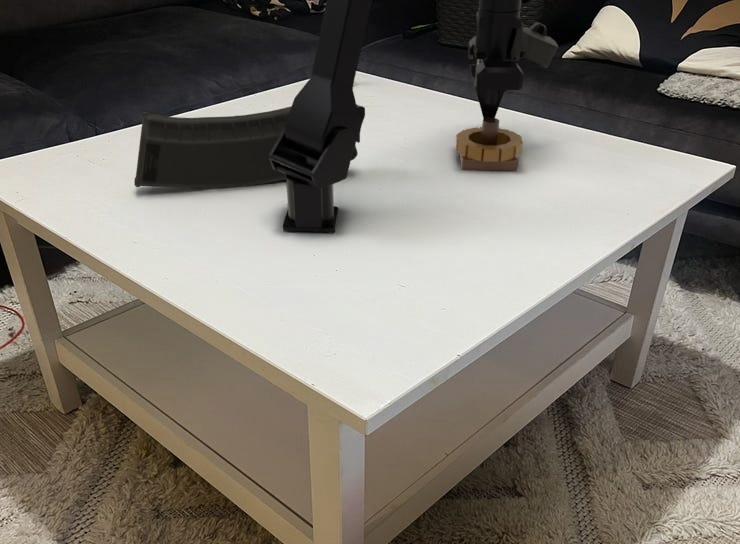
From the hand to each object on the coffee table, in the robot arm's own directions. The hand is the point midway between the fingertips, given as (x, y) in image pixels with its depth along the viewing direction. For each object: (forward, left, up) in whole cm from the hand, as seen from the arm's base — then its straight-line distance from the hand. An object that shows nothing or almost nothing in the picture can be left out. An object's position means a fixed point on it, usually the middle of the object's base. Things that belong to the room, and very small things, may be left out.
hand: (487, 121), depth 110 cm
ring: (-4, 0, -3) cm, 5 cm away
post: (-4, 0, -4) cm, 6 cm away
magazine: (-14, +34, -5) cm, 37 cm away
